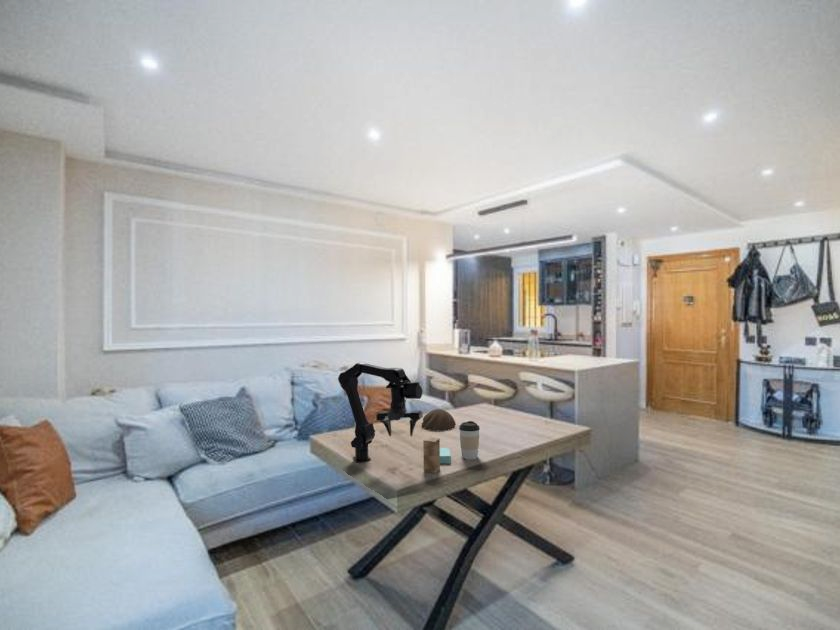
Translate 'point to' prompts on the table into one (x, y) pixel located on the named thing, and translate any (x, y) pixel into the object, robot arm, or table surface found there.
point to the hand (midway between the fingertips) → (400, 436)
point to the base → (445, 455)
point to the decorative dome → (438, 420)
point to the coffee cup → (469, 439)
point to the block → (431, 454)
